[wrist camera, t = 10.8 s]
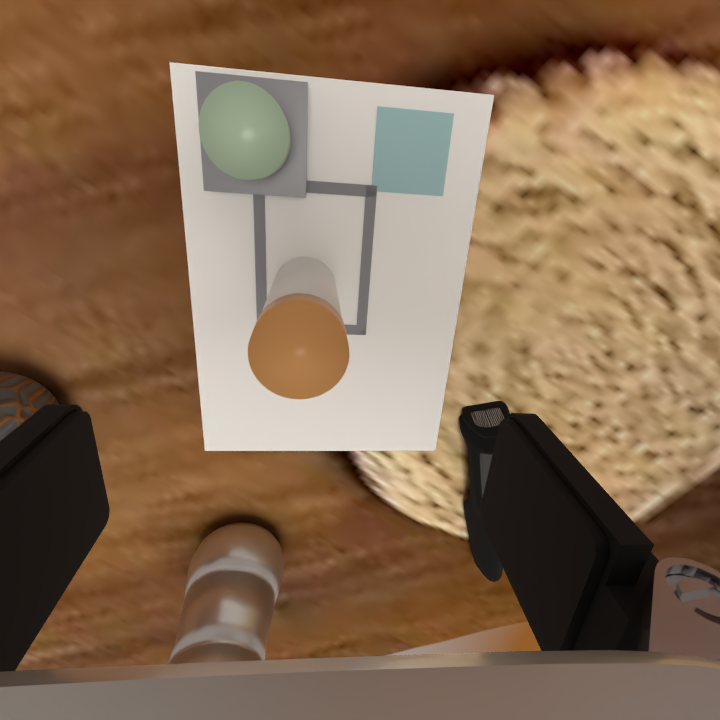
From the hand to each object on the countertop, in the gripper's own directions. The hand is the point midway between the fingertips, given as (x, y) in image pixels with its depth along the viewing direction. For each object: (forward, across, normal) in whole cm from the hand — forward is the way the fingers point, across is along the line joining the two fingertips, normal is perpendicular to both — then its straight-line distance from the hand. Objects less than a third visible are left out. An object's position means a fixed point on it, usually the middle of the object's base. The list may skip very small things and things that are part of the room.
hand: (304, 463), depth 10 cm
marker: (+16, +1, 0) cm, 17 cm away
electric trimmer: (+18, -14, +15) cm, 27 cm away
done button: (+14, +3, -8) cm, 16 cm away
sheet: (+17, -1, 0) cm, 17 cm away
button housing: (+16, +3, -8) cm, 18 cm away
